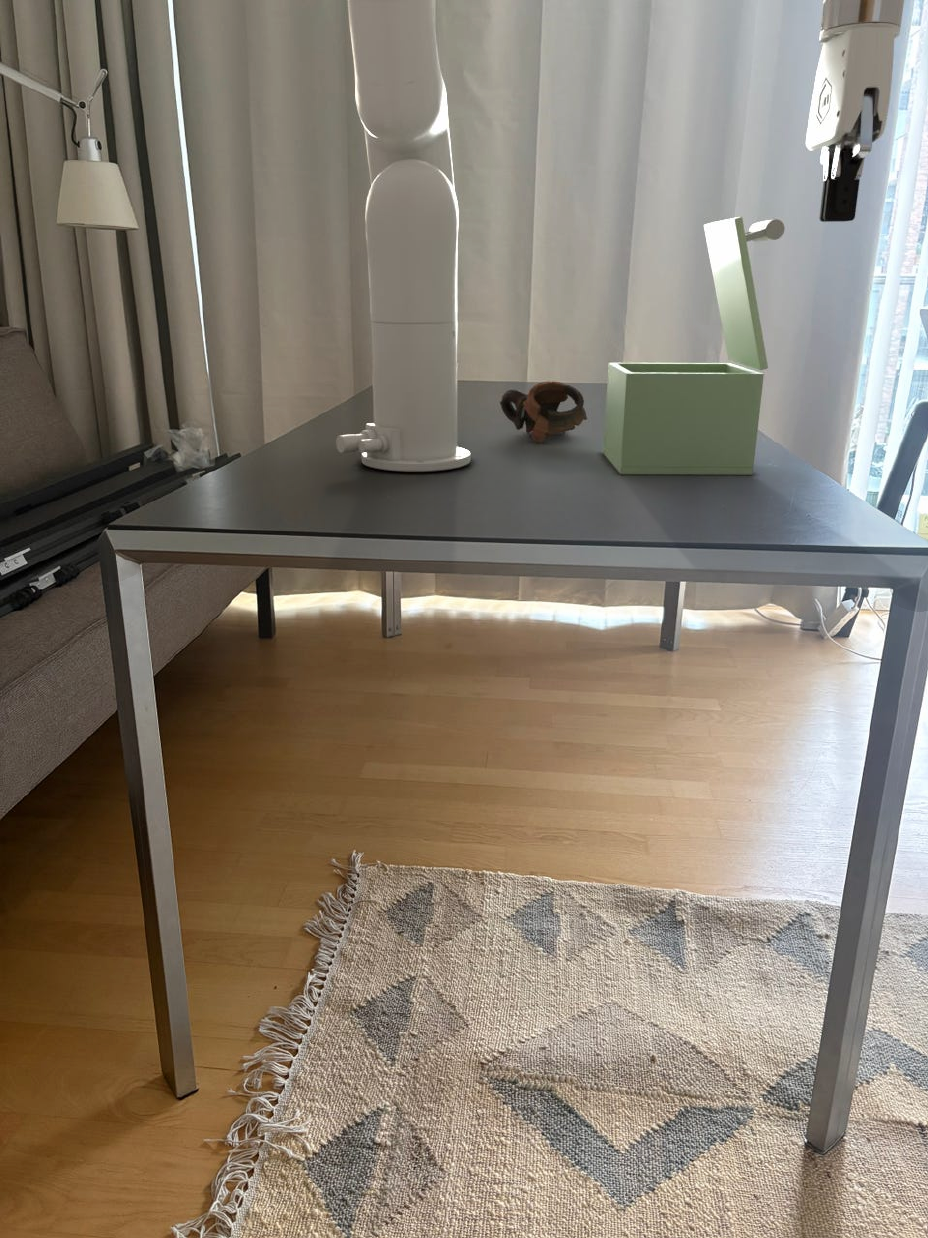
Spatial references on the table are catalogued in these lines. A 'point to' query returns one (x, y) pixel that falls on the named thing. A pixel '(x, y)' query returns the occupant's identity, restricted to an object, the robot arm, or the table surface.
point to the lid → (739, 286)
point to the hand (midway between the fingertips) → (836, 220)
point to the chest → (682, 418)
